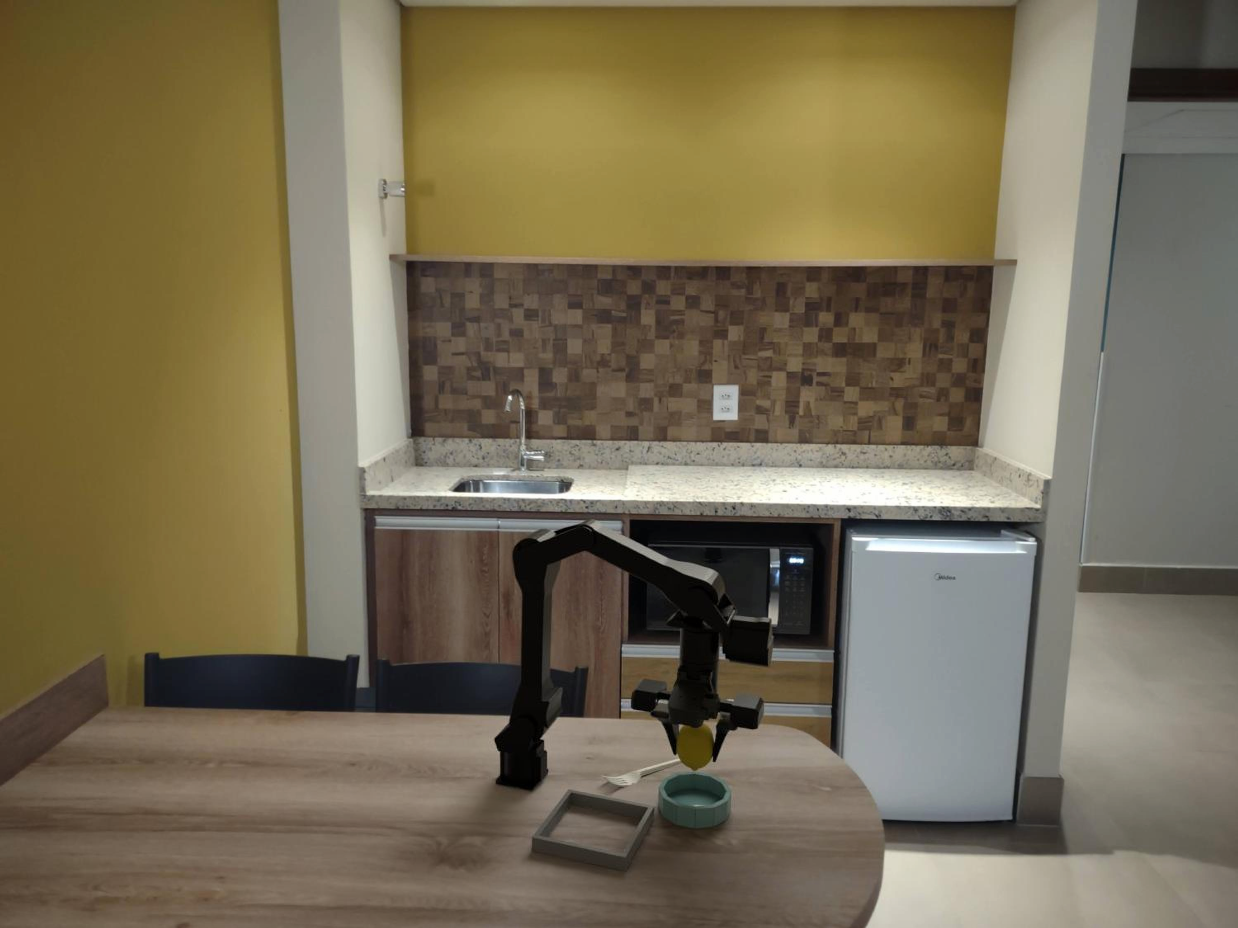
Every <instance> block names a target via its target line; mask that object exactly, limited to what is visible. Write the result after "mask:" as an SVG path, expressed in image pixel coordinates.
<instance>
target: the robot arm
mask: <svg viewBox="0 0 1238 928" xmlns="http://www.w3.org/2000/svg"><path fill="white" fill-rule="evenodd" d="M583 552H587V553H589V554H591V555H593V556H595V557H596V558H599V559H601V560H602V561H605V562H606V563H608V564H610V565H612V566H614V567H616V568H618V569H620V570H622V571H623V572H626V573H628V574H630V575H632V576H634V577H636V578H638V579H639V580H641V581H643V582H645V583H647V584H650V585H651V586H653V587H655V589H657V590H658V591H659V592H661V594H662V595H663V596H664V597H665V598H666V599H667V600H668V601H669V602H670V603H671V604H672V605H673V606H676V608H677V611H676V612H675V613H673V614H672V615H670V617H669V619H668V620H667V621H666V627H670V628H676V629H677V628H678V629H679V632H680V633H679V634H680V635H679V654H678V655H679V659H678V660H679V661H678V667H677V672H676V679H675V682H674V684H673V687H672V690H668V685H667V681H664V680H656V679H650V678H643V679H642V680H641V681H639V683H638V684H637V686H636V687H635V688H634V689H633V691H632V692H631V696H630V708H631V709H632V710H635V711H639V712H646V713H649V715H650V717H652V718H655V719H657V720H658V721H659V722H660V723H661V724H662V727H663V729H664V730H665V733H666V737H667V740H668V743H669V745H670V749H671V751H672V753H673V755H674V756H677V755H678V753H677V738H678V734H679V731H680V725H681V726H683V725H686V726H690V727H692V728H699V727H701V726H702V725H703V722H704V721H707V722H709V721H710V719H711V720H716V719H718V721H717V723H716V725H715V731H716V732H715V738H714V749H713V756H712V763H716V762H717V759H718V758H719V754H720V752H721V750H722V748H723V745H724V742H725V740H726V737H727V736H728V733H730V731H731V732H735V731H737V730H738V729H739V728H740V729H745V730H753V731H755V730H758V728H759V726H760V724H761V721H762V719H763V716H764V715H765V702H764V699H763V698H762V697H761V696H759V695H758V696H757V695H753V694H747V693H746V694H745V693H740V692H738V693H737V694H736V696H735V697H734V699H722V698H720V696H719V694H718V692H719V670H720V669H719V668H720V646H721V652H722V653H721V654H722V655H724V659H725V660H728V661H729V663H733V664H739V665H747V666H753V667H754V666H755V667H762V668H770V667H771V663H772V658H773V657H772V656H773V651H774V638H775V637H774V635H773V627H772V622H773V621H772V618H771V617H752V616H745V615H744V616H743V615H737V613H738V609H737V607H736V605H735V604H734V602H733V601H732V600H731V599H730V597H729V595H728V594H727V592H726V589H725V588H726V587H725V582H724V580H723V577H722V576H721V574H720V573H719V572H717V571H716V570H714V569H712V568H709V567H706V566H704V565H703V566H702V565H700V564H696V563H693V562H689V561H688V562H687V561H679V560H675V559H671V558H669V557H667V556H665V555H662V554H660V553H659V552H658V551H655V550H653V549H651V548H649V547H647V546H644V544H642V543H639V542H637V541H635V540H634V539H632V538H629V537H627V536H625V535H623V534H621V533H619V532H617V531H615V530H614V529H611V528H610V527H607V526H605V525H603V524H602V523H601V522H600V521H599V520H598V519H594V518H589V519H586V520H584V521H582V522H579V523H577V524H573V525H568V526H565V527H564V526H563V527H562V528H560V529H556V530H552V529H551V530H550V529H548V528H547V529H546V528H539V529H537V530H535V531H533V532H532V533H530V534H529V535H526V536H525V537H524V538H522V539H521V540H520V541H518V542H517V543H516V544H515V545H514V546H513V548H512V552H511V559H512V565H513V573H514V574H513V575H514V578H515V580H516V582H517V585H518V586H519V589H520V591H521V592H520V593H521V619H520V620H521V623H520V624H521V627H520V629H521V630H520V669H519V670H520V672H519V673H520V675H519V677H520V678H519V679H520V680H519V684H518V686H517V690H516V693H515V696H514V698H513V701H512V705H511V708H510V713H509V714H510V715H509V719H508V723H507V724H506V725H505V726H504V727H503V728H502V729H501V730H500V732H499V733H498V734H497V735H496V736H494V738H493V740H494V741H493V742H494V744H495V746H496V749H497V751H498V752H499V775H498V777H496V779H495V780H494V781H495V782H494V783H495V785H501V786H505V787H510V788H514V789H515V788H516V789H521V790H525V791H530V792H531V791H534V790H535V789H536V788H537V787H538V785H540V783H541V782H542V781H543V780H544V778H546V777H547V775H548V773H549V768H548V751H547V750H546V749H545V739H542V738H543V736H544V735H545V734H546V733H547V732H548V730H549V729H550V728H551V727H552V726H553V724H554V723H555V722H556V721H557V719H558V717H559V716H560V714H561V713H562V712H564V711H563V710H564V709H563V706H562V695H563V691H564V690H563V687H559V686H557V687H555V686H554V684H553V681H552V679H551V651H552V649H551V648H552V647H551V646H552V645H551V644H552V616H553V615H552V614H553V613H552V608H553V589H554V586H555V584H556V581H557V579H558V575H559V572H560V569H561V564H562V561H563V560H565V559H567V558H569V557H571V556H574V555H577V554H580V553H583ZM721 634H722V640H721ZM721 641H722V642H721ZM720 644H721V645H720ZM718 715H719V718H718ZM704 723H705V722H704Z"/></svg>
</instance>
